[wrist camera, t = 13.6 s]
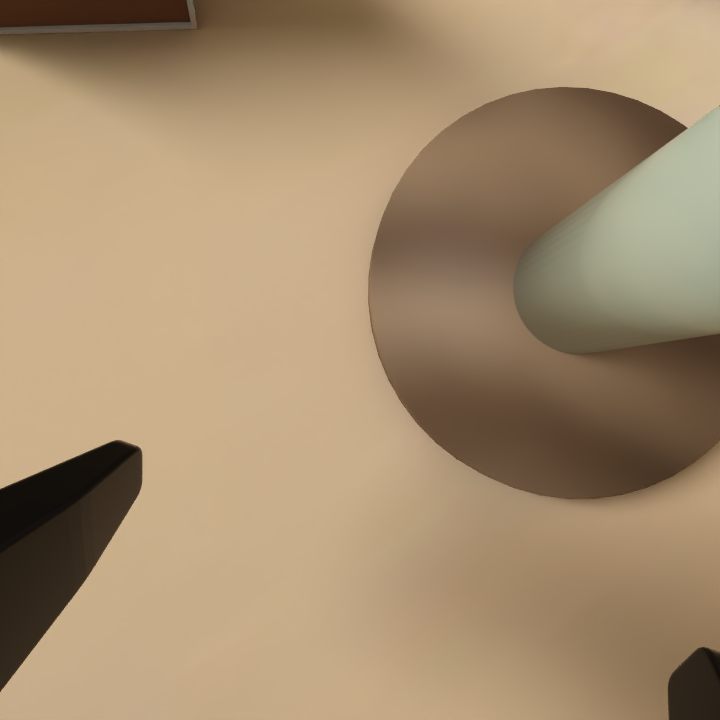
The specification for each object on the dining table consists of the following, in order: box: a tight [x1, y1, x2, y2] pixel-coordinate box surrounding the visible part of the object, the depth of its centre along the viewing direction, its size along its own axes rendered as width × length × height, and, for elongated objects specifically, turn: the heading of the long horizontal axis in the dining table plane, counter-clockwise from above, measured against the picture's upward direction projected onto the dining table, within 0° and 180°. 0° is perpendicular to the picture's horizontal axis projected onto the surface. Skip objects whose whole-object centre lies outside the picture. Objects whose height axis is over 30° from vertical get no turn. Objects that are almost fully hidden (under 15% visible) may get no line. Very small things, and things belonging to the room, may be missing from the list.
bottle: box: [513, 105, 720, 354], centre depth 14 cm, size 5×5×14 cm
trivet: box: [368, 87, 720, 499], centre depth 22 cm, size 16×16×1 cm
